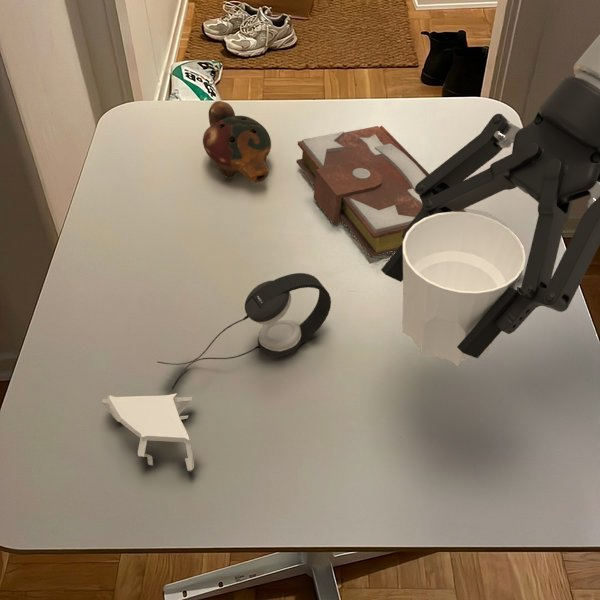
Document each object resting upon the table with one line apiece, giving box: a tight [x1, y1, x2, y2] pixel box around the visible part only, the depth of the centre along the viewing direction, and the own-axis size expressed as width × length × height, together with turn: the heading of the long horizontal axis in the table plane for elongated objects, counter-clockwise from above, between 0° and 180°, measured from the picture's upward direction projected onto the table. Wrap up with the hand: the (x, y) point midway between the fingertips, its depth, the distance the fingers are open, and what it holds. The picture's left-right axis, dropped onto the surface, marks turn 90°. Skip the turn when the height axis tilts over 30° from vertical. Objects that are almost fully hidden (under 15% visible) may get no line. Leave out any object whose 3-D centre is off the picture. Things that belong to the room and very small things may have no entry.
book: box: [295, 125, 466, 258], centre depth 102 cm, size 23×16×5 cm
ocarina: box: [202, 100, 272, 184], centre depth 107 cm, size 10×15×8 cm, turn 34°
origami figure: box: [101, 393, 195, 472], centre depth 75 cm, size 12×8×5 cm
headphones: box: [157, 272, 332, 389], centre depth 81 cm, size 10×4×20 cm
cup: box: [402, 212, 527, 367], centre depth 65 cm, size 10×10×10 cm
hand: (427, 312), depth 64 cm, fingers closed on cup, 10 cm apart
